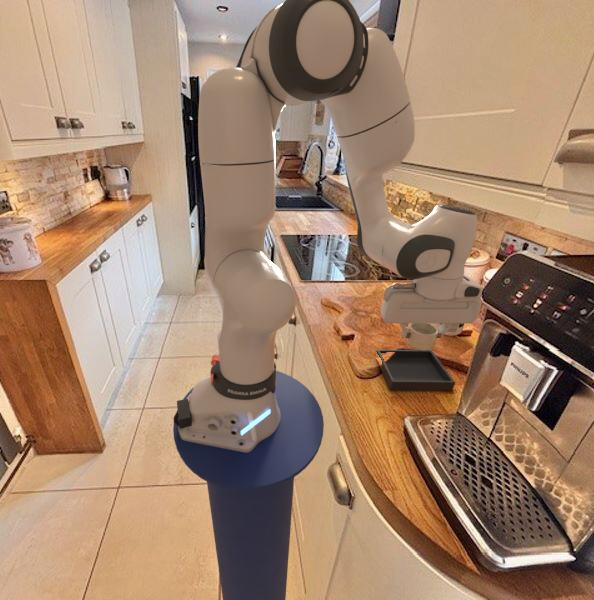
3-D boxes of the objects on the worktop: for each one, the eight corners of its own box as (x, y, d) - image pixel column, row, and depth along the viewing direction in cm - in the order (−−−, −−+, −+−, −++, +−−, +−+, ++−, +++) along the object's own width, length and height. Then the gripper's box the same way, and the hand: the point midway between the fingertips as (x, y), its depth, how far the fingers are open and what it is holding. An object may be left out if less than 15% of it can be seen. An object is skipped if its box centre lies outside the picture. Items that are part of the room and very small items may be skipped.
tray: (390, 390, 76) (392, 381, 75) (375, 357, 87) (376, 349, 85) (452, 391, 75) (455, 382, 74) (429, 357, 86) (431, 349, 85)
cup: (411, 351, 74) (415, 335, 72) (401, 336, 79) (405, 320, 77) (438, 351, 74) (443, 335, 72) (426, 336, 79) (431, 321, 77)
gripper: (391, 290, 67) (380, 344, 73) (493, 289, 66) (472, 345, 73) (382, 277, 72) (372, 329, 79) (475, 277, 72) (458, 329, 78)
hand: (421, 336), depth 76 cm, fingers closed on cup, 6 cm apart
